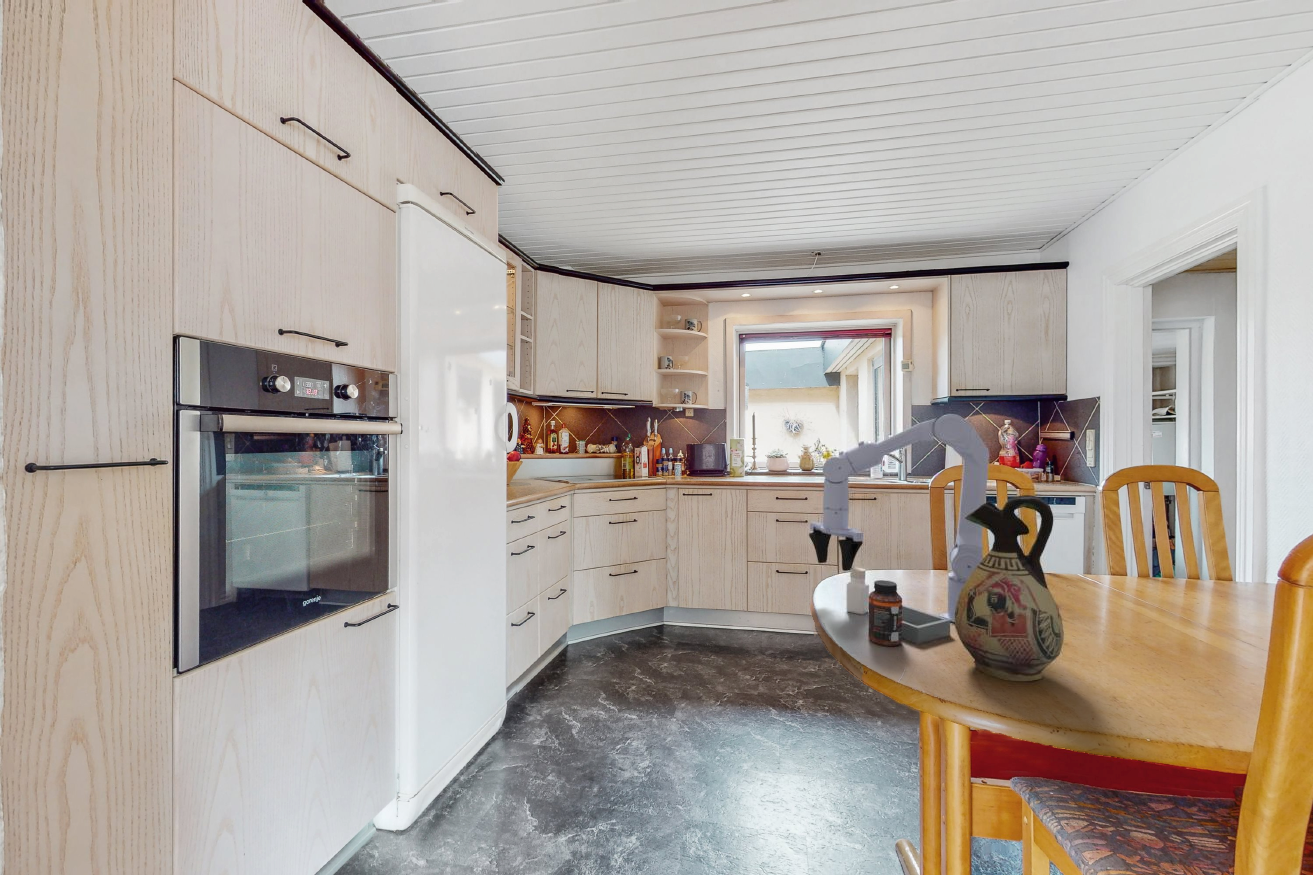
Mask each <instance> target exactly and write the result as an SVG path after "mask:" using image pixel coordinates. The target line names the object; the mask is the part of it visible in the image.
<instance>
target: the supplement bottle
mask: <svg viewBox="0 0 1313 875" xmlns="http://www.w3.org/2000/svg"><path fill="white" fill-rule="evenodd" d="M873 583H874V584H873V585H874V586H873V589H874V590H872V591H871V592H869V610H868V632H867V633H868V639H869V641H871V642H873V643H874V644H876V645H880V646H881V645H882V646H884V647H885V646H886V647H895V646H899V645H901V643H902V641H903V640H902V639H903V638H902V621H903V620H902V606H903V598H902V596H901V595H900V594H899V593H898V588H897V587H898V584H897V583H896V582H894V581H891V580H885V579H883V580H882V579H881V580H880V579H878V580H875V581H874V582H873Z"/></svg>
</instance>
